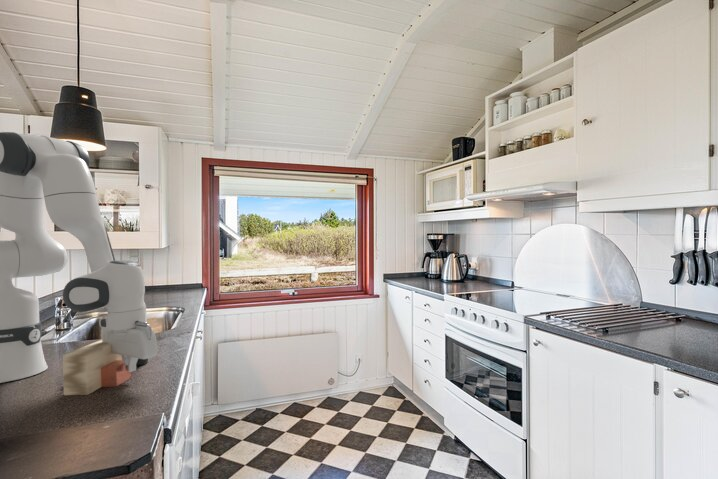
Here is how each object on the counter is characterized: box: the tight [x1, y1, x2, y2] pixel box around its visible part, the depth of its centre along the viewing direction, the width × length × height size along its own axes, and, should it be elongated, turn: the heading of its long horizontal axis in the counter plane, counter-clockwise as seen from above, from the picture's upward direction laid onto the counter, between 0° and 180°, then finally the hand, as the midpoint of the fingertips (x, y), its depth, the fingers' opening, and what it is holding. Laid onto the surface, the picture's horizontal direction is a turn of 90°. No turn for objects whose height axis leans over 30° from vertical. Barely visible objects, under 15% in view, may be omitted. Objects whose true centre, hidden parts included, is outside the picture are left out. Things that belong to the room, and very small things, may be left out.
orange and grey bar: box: [100, 360, 132, 388], centre depth 98 cm, size 14×6×5 cm, turn 91°
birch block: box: [62, 339, 122, 396], centre depth 98 cm, size 6×16×10 cm, turn 1°
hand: (130, 370), depth 98 cm, fingers closed
